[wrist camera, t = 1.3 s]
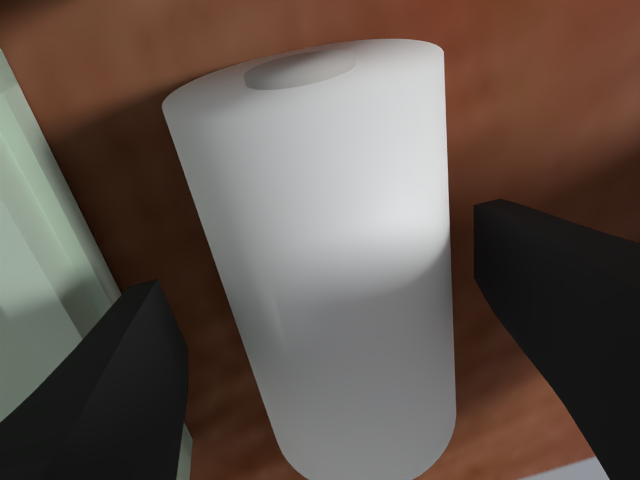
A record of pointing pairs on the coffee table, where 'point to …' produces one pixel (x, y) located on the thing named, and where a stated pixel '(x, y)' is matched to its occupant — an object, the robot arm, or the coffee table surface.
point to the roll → (333, 245)
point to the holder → (44, 261)
